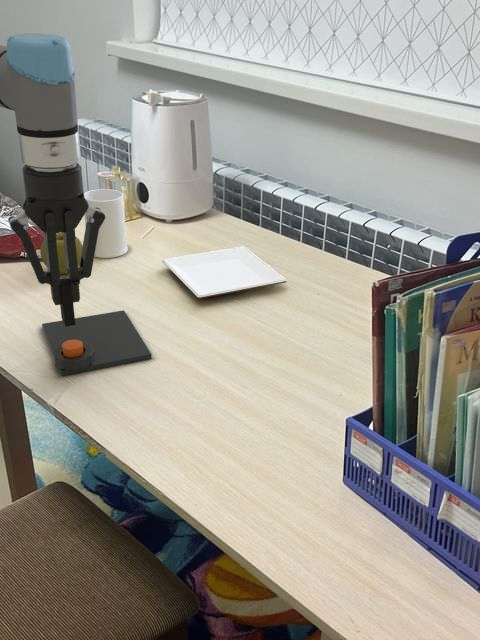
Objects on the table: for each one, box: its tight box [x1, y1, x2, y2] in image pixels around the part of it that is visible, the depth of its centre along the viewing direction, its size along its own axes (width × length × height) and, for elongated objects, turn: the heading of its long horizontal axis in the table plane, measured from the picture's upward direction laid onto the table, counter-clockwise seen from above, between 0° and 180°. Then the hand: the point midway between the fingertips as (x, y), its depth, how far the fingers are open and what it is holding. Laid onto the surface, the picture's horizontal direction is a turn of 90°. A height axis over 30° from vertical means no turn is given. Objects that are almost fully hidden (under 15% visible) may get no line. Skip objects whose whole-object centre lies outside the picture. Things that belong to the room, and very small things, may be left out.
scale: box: [41, 309, 152, 377], centre depth 112 cm, size 16×14×2 cm
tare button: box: [62, 340, 83, 357], centre depth 105 cm, size 3×3×2 cm
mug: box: [84, 188, 129, 259], centre depth 144 cm, size 12×8×12 cm
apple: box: [39, 232, 83, 275], centre depth 134 cm, size 8×8×7 cm
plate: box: [161, 245, 288, 300], centre depth 135 cm, size 19×19×2 cm
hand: (68, 321), depth 103 cm, fingers closed
